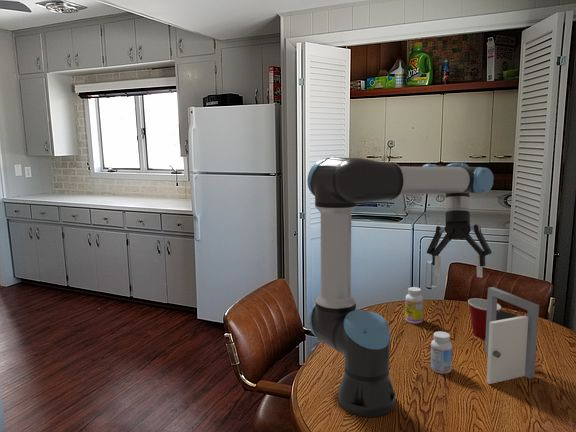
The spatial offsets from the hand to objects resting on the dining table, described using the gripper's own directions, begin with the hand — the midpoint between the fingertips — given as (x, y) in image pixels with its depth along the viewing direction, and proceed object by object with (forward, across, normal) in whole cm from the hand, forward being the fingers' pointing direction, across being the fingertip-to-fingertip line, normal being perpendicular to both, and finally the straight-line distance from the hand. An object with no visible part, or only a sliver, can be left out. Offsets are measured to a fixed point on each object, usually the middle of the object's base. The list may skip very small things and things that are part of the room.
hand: (458, 276), depth 143 cm
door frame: (+26, -12, -8) cm, 30 cm away
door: (+29, -15, +2) cm, 33 cm away
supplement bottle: (+18, +26, -20) cm, 37 cm away
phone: (+16, +2, -42) cm, 45 cm away
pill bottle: (+28, +2, +8) cm, 30 cm away
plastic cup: (+20, +1, -24) cm, 31 cm away
